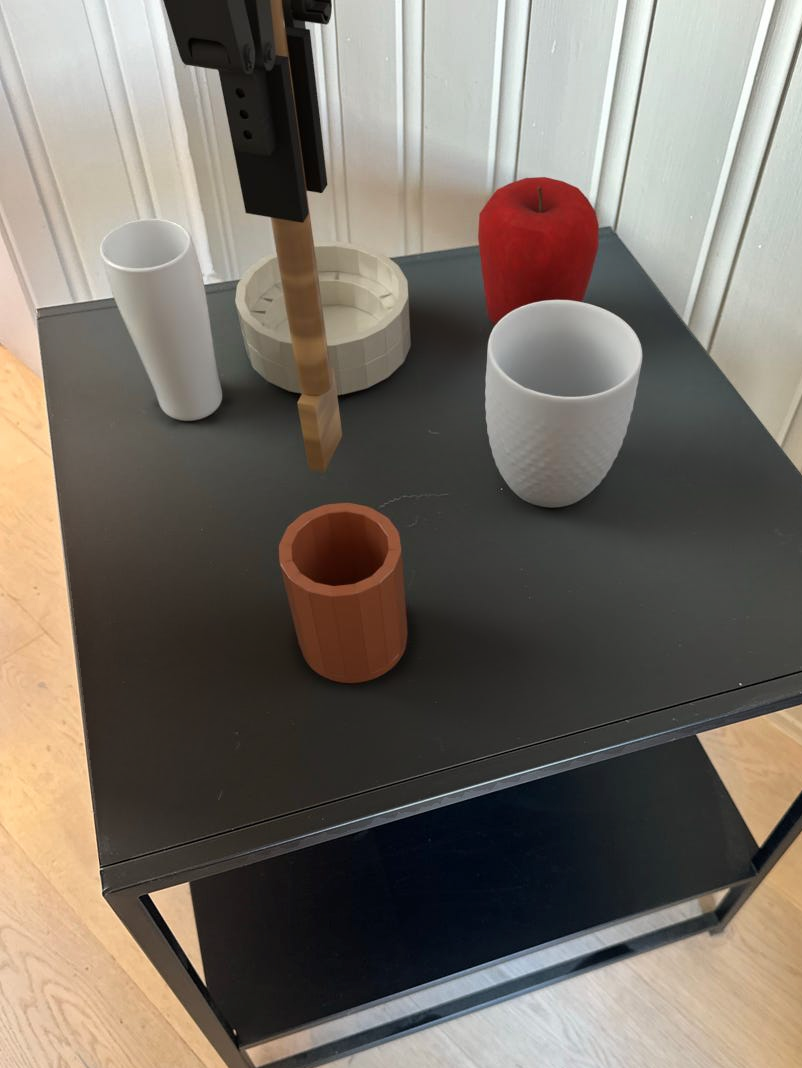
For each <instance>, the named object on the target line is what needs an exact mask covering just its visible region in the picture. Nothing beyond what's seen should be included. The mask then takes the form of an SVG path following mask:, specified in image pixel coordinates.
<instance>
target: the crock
mask: <svg viewBox="0 0 802 1068" xmlns="http://www.w3.org/2000/svg"><path fill="white" fill-rule="evenodd" d="M402 549H403V548H402V543H401V536H400V532H399V530H398V529H397V528H396V526H395V525H394V523H393V522H392V521H391V519H390V518H389V517H387V516H386V515H384V514H383V513H381V512H379V511H377V510H376V509H374V508H372V507H370V506H367V505H361V504H358V503H351V502H339V503H329V504H323V505H320V506H317V507H315V508H313V509H310V510H308V511H306V512H303V513H302V514H300V516H298V517H297V518H296V519H295V520H294V521H292V523H290V524H289V525H288V526H287V528H286V529H285V532H284V534H283V536H282V538H281V540H280V542H279V545H278V558H279V560H278V561H279V566H280V570H281V575H282V578H283V583H284V587H285V591H286V595H287V600H288V605H289V609H290V613H291V616H292V617H291V618H292V621H293V625H294V629H295V633H296V637H297V641H298V647H299V648H300V651H301V654H302V657H303V658H304V660H305V662H306V664H307V665H308V666H309V667H310V668H311V669H312V671H314V672H315V673H317V674H318V675H320V676H321V677H323V678H326V679H327V680H330V681H334V682H337V683H343V684H359V683H364V682H369V681H372V680H375V679H377V678H380V677H381V676H383V675H385V674H387V672H389V671H391V670H392V669H393V668H394V667H395V666H396V665H397V664H398V662H399V661H400V660H401V658H402V656H403V655H404V653H405V651H406V649H407V648H406V647H407V644H408V633H409V632H408V619H407V618H408V617H407V608H406V607H407V605H406V604H407V603H406V591H405V579H404V565H403V563H404V562H403V552H402V551H403V550H402Z"/></svg>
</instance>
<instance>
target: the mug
mask: <svg viewBox="0 0 802 1068" xmlns="http://www.w3.org/2000/svg"><path fill="white" fill-rule="evenodd" d="M486 353H487V355H486V357H487V358H486V371H485V377H484V378H485V390H484V396H485V397H484V398H485V403H484V408H485V422H486V426H487V427H486V430H487V433H486V434H487V436H488V441H489V447H490V449H491V455H492V457H493V459H494V463H495V466H496V468H497V470H498V472H499V474H500V476H501V477H502V478H503V480H504V481H505V483H506V485H507V486H508V487H509V488H510V489H511V491H512V492H513V493H514V494H515V495H517V496H518V497H519V498H520V499H521V500H523V501H524V502H527V503H528V504H531V505H533V506H538V507H541V508H562V507H567V506H570V505H574V504H575V503H577V502H580V501H581V500H582V499H583V498H585V497H587V496H588V495H589V494H590V493H592V492H593V491H594V490H595V489H596V487H598V486H599V485H600V484H601V483H602V480H603V479H604V478H606V476H607V475H608V472H609V471H610V470H611V468H612V466H613V464H614V461H615V460H616V458H617V457H618V455H619V451H620V450H621V448H622V447H623V443H624V439H625V437H626V436H627V431H628V427H629V424H630V421H631V415H632V412H633V411H634V405H635V404H634V402H635V399H636V396H637V388H638V385H639V379H640V374H641V370H642V369H641V368H642V362H643V348H642V344H641V341H640V339H639V336H638V335H637V333H636V332H635V330H634V329H633V328H632V327H631V326H630V325H629V324H628V323H627V322H626V321H625V320H624V319H623V318H621V317H620V316H618V315H617V314H615V313H613V312H611V311H609V310H607V309H605V308H602V307H600V306H596V305H594V304H591V303H587V302H584V301H583V302H577V301H570V300H547V301H540V302H535V303H531V304H528V305H525V306H522V307H520V308H517V309H515V310H513V311H512V312H510V313H508V314H507V315H506V316H504V317H503V318H502V319H501V320H500V321H499V322H498V323H497V324H496V325H495V324H494V326H493V328H492V330H491V332H490V335H489V338H488V342H487V351H486Z"/></svg>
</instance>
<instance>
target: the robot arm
mask: <svg viewBox="0 0 802 1068" xmlns="http://www.w3.org/2000/svg"><path fill="white" fill-rule="evenodd" d="M332 2H333V1H332V0H282V8H283V15H284V23H285V30H286V38H287V45H288V53H289V60H290V68H291V75H292V83H293V90H294V98H295V105H294V98H293V91H292V83H291V76H290V68H289V61H288V57H286V56H279V55H276V51H275V40H274V30H273V21H272V12H271V3H270V0H163V4H164V8H165V12H166V14H167V17H168V21H169V24H170V27H171V31H172V34H173V38H174V41H175V44H176V47H177V51H178V55H179V57H180V60H181V62H182V63H183V64H184V65H185V66H191V67H197V68H203V69H209V70H217V72H218V77H219V81H220V86H221V93H222V98H223V103H224V107H225V113H226V118H227V122H228V123H227V124H228V128H229V129H228V130H229V134H230V138H231V145H232V149H233V154H234V159H235V164H236V170H237V175H238V180H239V181H238V182H239V186H240V191H241V195H242V201H243V202H242V203H243V206H244V212H245V214H247V215H248V214H249V215H254V216H255V215H256V216H259V217H267V218H270V219H271V218H277V219H283V220H289V221H295V222H301V223H303V222H304V221H305V219H306V218H307V216H308V214H309V211H310V209H309V210H308V204H309V202H308V203H307V196H308V194H307V195H306V188H307V192H312V193H317V194H323V193H324V191H325V190H326V188H327V187H328V176H327V167H326V158H325V150H324V149H325V148H324V142H323V132H322V123H321V115H320V105H319V98H318V96H319V95H318V89H317V88H318V87H317V81H316V79H317V78H316V71H315V62H314V53H313V45H312V35H311V29H309V28H307V26H306V23H312V24H320V25H325V26H327V25H328V24H330V21H331V17H332V10H333V3H332ZM295 106H296V113H297V120H296V113H295ZM297 121H298V128H299V135H298V128H297ZM299 136H300V143H301V150H300V143H299ZM301 151H302V158H303V165H302V158H301ZM303 166H304V173H305V180H304V173H303ZM305 181H306V188H305Z"/></svg>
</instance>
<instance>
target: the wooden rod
mask: <svg viewBox="0 0 802 1068" xmlns="http://www.w3.org/2000/svg"><path fill="white" fill-rule="evenodd" d="M270 3H271V12H272V21H273V30H274V40H275V51H276V55H279V56H286V57H288V61H289V68H290V60H289V53H288V45H287V38H286V30H285V23H284V15H283V8H282V0H270ZM290 76H291V83H292V75H291V68H290ZM292 91H293V98H294V90H293V83H292ZM294 105H295V98H294ZM295 113H296V106H295ZM296 120H297V113H296ZM297 128H298V121H297ZM298 135H299V128H298ZM299 143H300V136H299ZM300 150H301V143H300ZM301 158H302V151H301ZM302 165H303V158H302ZM303 173H304V166H303ZM304 180H305V173H304ZM305 188H306V181H305ZM306 195H307V203H308V210H309V214H308V216H307V218H306V219H305V221H304V222H303V223H301V222H295V221H289V220H283V219H277V218H271V217H270V222H271V229H272V235H273V240H274V246H275V252H276V253H277V259H278V265H279V270H280V276H281V282H282V288H283V294H284V300H285V306H286V312H287V318H288V324H289V329H290V335H291V341H292V347H293V353H294V359H295V365H296V371H297V377H298V383H299V388H300V390H301V391H302V392H303V393H302V394H301V395H300V397H299V399H298V401H297V408H298V414H299V419H300V425H301V431H302V437H303V441H304V443H303V444H304V448H305V454H306V460H307V465H308V469H309V470H312V471H317V472H322V473H325V472H326V470H327V468H328V466H329V464H330V462H331V460H332V458H333V456H334V454H335V451H336V449H337V447H338V445H339V443H340V441H341V439H342V438H343V430H342V421H341V414H340V407H339V398H338V395H337V390H336V382H335V374H334V369H333V368H330V362H329V354H328V347H327V339H326V332H325V324H324V317H323V309H322V302H321V294H320V286H319V279H318V271H317V264H316V256H315V249H314V242H315V241H314V235H313V228H312V220H311V213H310V211H311V210H310V205H309V196H308V191H307V188H306Z"/></svg>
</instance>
